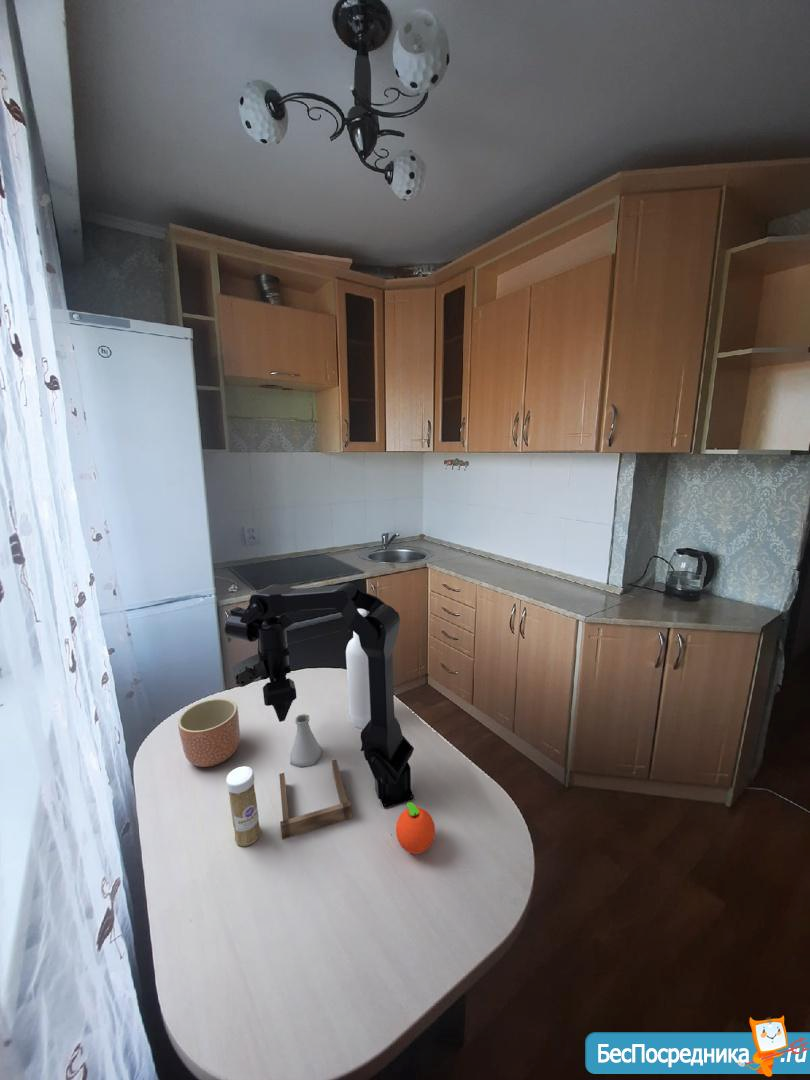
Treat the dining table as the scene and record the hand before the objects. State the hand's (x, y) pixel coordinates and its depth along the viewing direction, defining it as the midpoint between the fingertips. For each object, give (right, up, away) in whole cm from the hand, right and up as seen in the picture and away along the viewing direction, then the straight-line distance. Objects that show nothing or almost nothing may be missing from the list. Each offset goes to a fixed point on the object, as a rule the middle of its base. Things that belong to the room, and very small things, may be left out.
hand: (279, 708), depth 95 cm
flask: (+5, -13, +4) cm, 14 cm away
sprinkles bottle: (-1, -18, -16) cm, 24 cm away
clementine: (+29, -17, -18) cm, 39 cm away
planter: (-17, -13, +5) cm, 22 cm away
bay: (+9, -15, -8) cm, 20 cm away
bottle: (+17, -9, +16) cm, 25 cm away
